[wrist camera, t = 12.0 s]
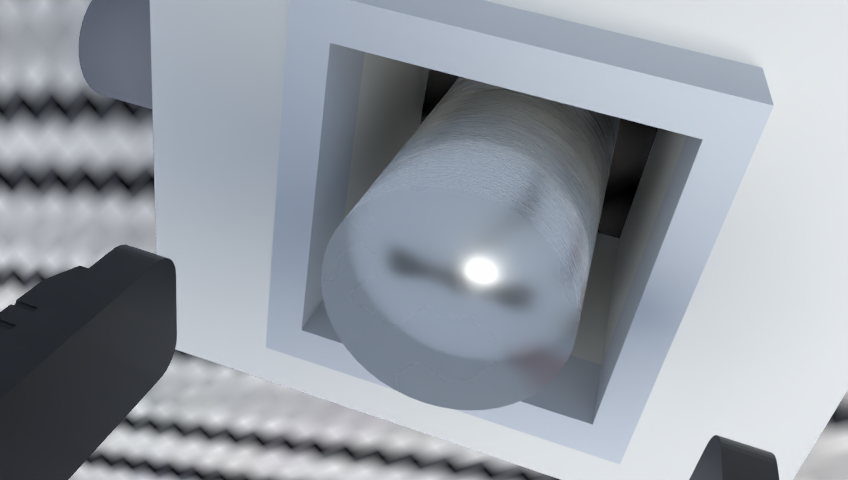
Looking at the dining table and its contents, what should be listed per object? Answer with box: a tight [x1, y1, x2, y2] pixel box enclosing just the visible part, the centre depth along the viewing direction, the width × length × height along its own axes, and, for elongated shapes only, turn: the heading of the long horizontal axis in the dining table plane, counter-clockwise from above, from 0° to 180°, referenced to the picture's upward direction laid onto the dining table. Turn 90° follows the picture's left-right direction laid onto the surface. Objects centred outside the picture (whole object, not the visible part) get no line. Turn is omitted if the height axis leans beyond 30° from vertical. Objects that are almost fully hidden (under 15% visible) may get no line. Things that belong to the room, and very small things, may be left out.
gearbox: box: [79, 0, 848, 480], centre depth 18 cm, size 19×14×8 cm
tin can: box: [321, 77, 620, 410], centre depth 17 cm, size 4×4×10 cm
